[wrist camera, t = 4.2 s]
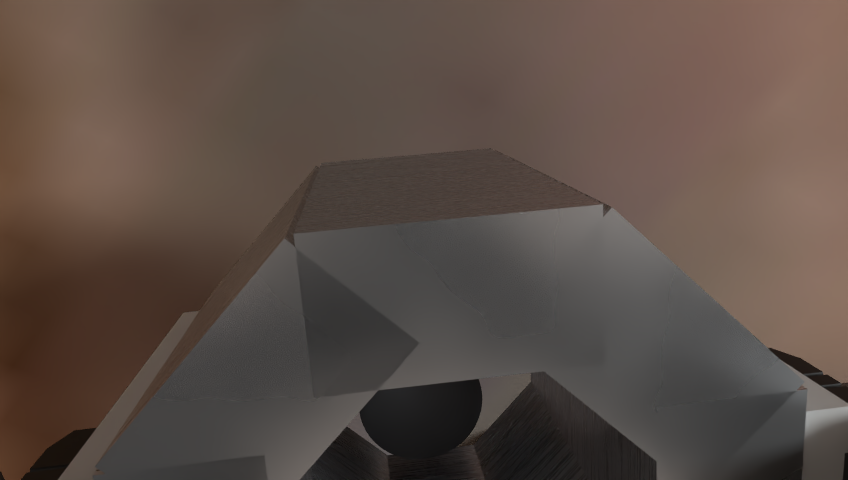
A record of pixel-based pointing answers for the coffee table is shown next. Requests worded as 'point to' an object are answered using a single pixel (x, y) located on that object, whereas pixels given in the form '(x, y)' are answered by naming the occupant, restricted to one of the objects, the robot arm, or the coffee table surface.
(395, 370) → the grey octagonal holder
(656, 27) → the coffee table surface
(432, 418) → the stand
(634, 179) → the coffee table surface
